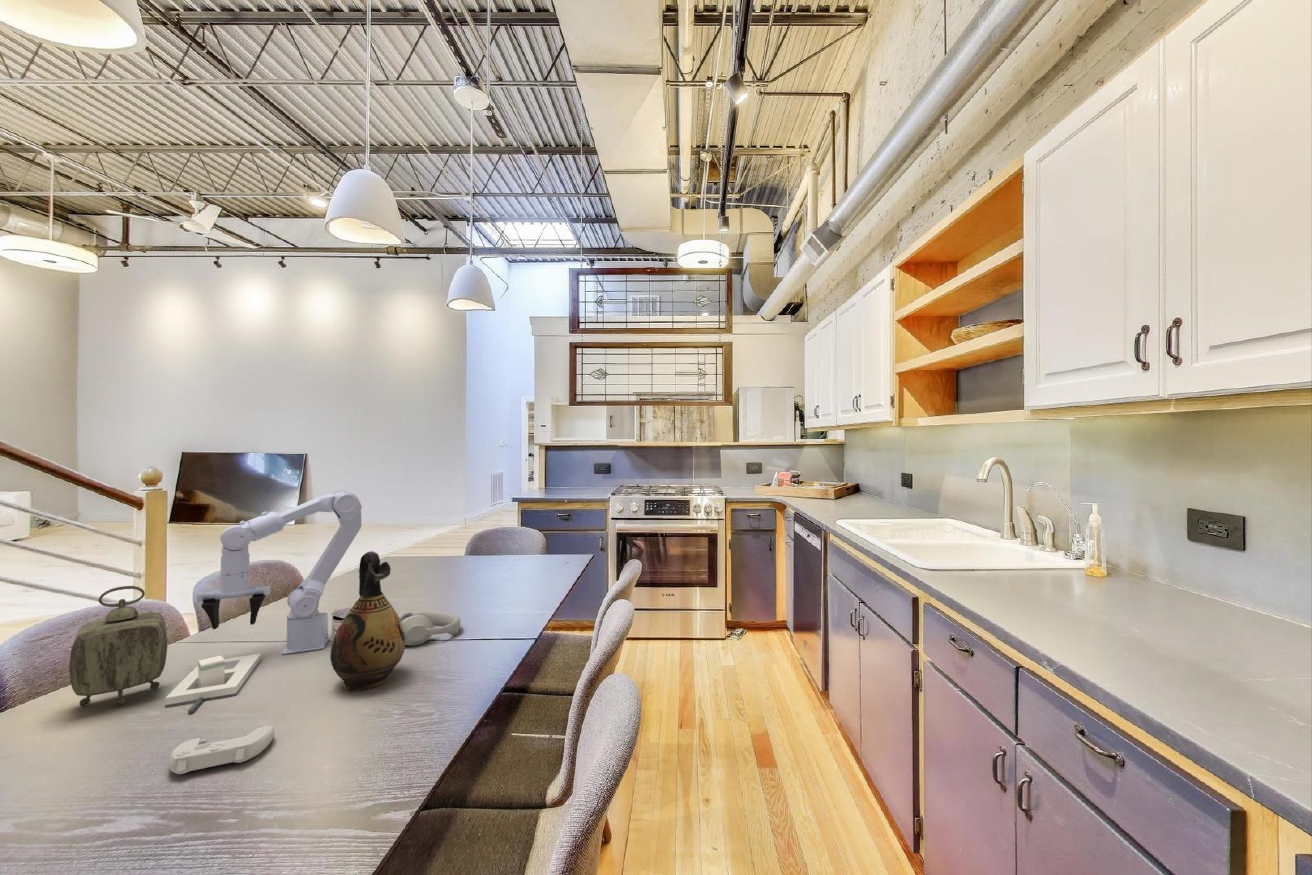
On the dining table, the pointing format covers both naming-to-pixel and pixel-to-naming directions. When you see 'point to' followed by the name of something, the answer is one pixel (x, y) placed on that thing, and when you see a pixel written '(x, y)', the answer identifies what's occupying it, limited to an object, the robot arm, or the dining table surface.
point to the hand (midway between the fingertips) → (234, 625)
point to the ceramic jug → (368, 632)
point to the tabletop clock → (118, 651)
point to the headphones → (427, 625)
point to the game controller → (219, 751)
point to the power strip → (234, 679)
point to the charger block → (211, 672)
